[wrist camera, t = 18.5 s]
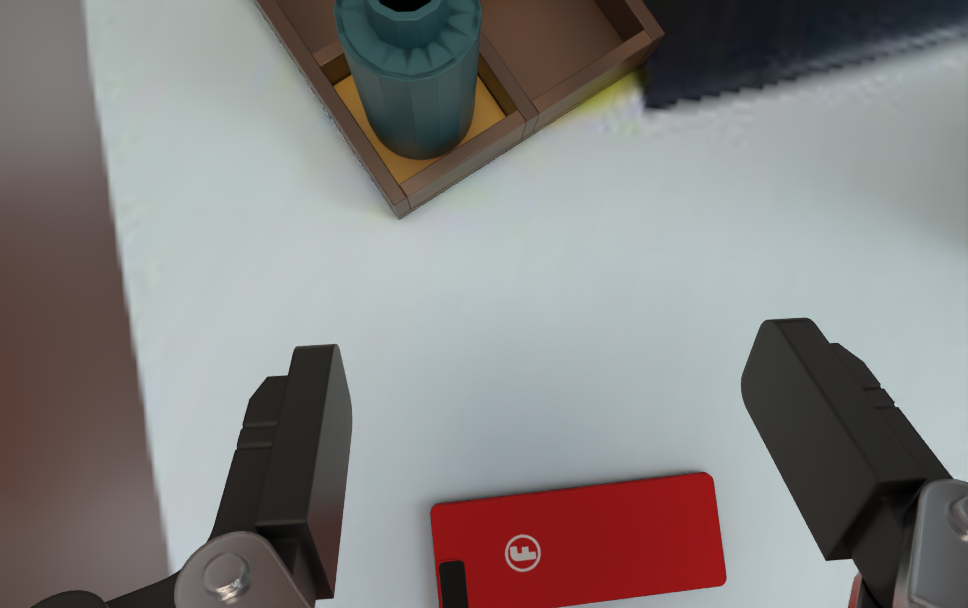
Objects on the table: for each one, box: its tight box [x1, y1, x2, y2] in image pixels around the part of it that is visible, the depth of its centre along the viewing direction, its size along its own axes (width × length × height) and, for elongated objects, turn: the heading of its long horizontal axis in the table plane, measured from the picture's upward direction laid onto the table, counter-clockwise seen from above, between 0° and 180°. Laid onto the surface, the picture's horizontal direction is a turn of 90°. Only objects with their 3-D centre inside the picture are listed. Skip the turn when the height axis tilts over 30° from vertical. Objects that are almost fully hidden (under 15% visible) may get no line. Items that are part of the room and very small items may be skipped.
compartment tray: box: [253, 0, 665, 219], centre depth 33 cm, size 17×17×3 cm
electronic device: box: [430, 472, 727, 608], centre depth 32 cm, size 6×1×15 cm
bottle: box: [333, 0, 482, 160], centre depth 28 cm, size 6×6×12 cm
